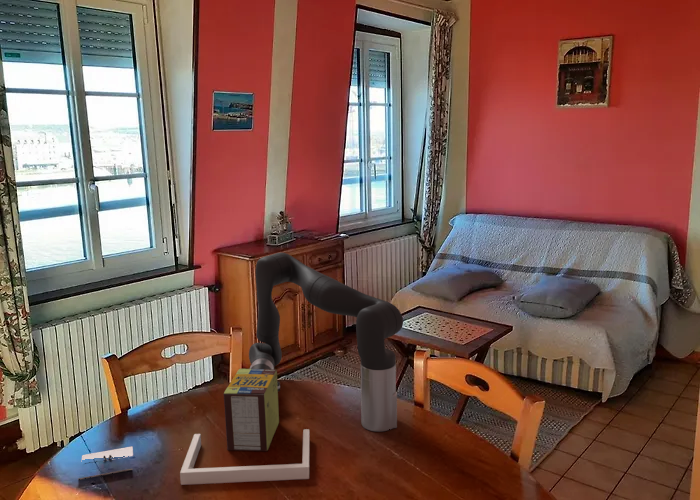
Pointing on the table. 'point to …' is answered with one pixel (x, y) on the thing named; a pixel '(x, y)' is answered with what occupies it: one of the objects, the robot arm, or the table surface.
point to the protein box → (251, 409)
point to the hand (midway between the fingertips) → (255, 400)
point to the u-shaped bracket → (242, 468)
